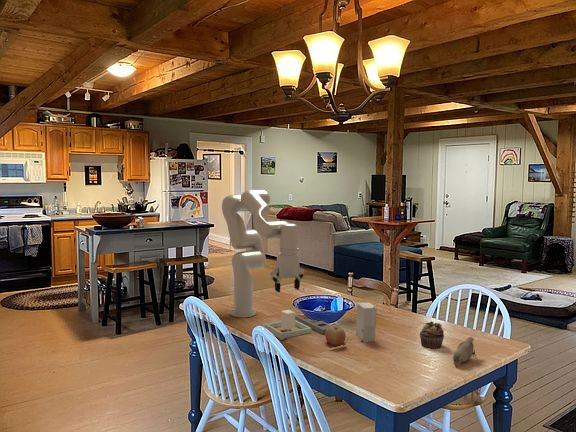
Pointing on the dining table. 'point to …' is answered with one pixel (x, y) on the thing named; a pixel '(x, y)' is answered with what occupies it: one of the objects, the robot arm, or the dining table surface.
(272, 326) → the green square frame
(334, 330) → the fruit
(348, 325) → the dining table surface
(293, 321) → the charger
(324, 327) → the power strip
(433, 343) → the cupcake
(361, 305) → the skincare box
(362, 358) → the dining table surface
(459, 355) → the decorative bird
